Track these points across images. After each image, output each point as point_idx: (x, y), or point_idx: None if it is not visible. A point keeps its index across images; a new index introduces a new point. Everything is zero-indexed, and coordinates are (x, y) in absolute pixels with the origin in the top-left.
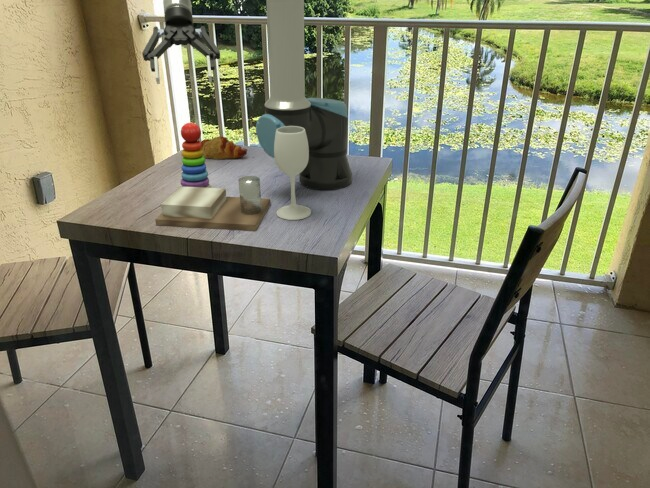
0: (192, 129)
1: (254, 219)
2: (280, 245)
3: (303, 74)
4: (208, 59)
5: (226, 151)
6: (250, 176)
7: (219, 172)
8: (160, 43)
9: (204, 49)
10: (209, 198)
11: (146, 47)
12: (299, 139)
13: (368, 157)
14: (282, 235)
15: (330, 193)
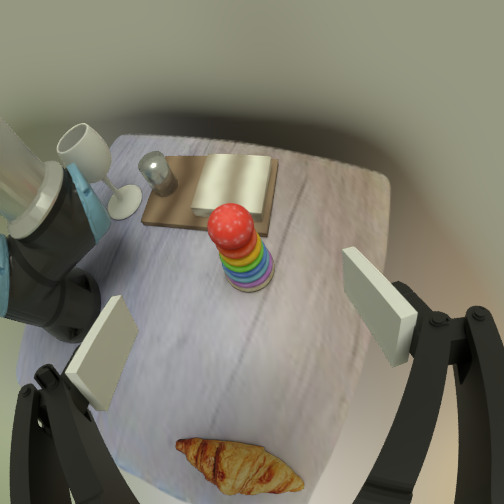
0: (220, 205)
1: None
2: (151, 141)
3: None
4: (79, 354)
5: (214, 442)
6: (147, 171)
7: (223, 366)
8: (430, 430)
9: (66, 414)
10: (210, 174)
11: (497, 348)
12: (74, 133)
13: None
14: None
15: None
